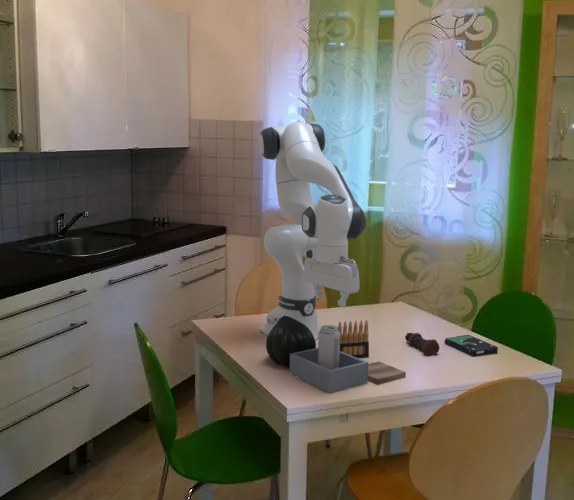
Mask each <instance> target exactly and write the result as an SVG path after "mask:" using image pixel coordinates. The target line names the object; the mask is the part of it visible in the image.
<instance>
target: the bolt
mask: <svg viewBox="0 0 574 500" xmlns="http://www.w3.org/2000/svg"><path fill="white" fill-rule="evenodd" d="M404 336H405V337H404V338H405V339H404V340H406V341H407V342H408V344H409V345H410V346H411V347H413V348H419V349H421V350H422V351H423V352H424V355H425V356H427V357H434V356H437V354H438V353H439V351H440V344H439V342H438V341H437V340H436V339H434V338H433V339H425V338H423V336H422V334H421V333H419V332H415V333H414V332H407V333H406V334H405V335H404ZM433 355H434V356H433Z"/></svg>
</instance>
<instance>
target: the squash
mask: <svg viewBox="0 0 574 500" xmlns="http://www.w3.org/2000/svg"><path fill="white" fill-rule="evenodd" d="M266 336H267V337H266V341H265V348H266V353H267V354H268V357H269V358H270V360H272V362H274V363H275V364H277V365H281V366H283V367H288V366H289V367H290V354H292V353H296V352H301V351H306V350H310V349H315V348H317V344H316V343H317V341H316V339H314V336H313V334H312V332H311V331H310V330H309V328H308V327H307V326H305V325H304V324H303V323H301V322H299V321H297V320H296V319H293V318H291V317H289V316H285V315H283V316H282V317H281V318H280V319H279V320H278V322H277V323H276V325H275V326H274V327H273V328H272V330H271V331H270V332H269V334H268V335H266Z"/></svg>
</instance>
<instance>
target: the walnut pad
mask: <svg viewBox="0 0 574 500" xmlns="http://www.w3.org/2000/svg"><path fill="white" fill-rule="evenodd" d="M406 375H407V372H406V371H404V370H401V369H399V368H397V367H394V366H392V365H389V364H386V363H384V362H382V361H376V362H372V363H368V381H369V382H370V383H373V384H376V385H377V386H378V385H381V384H384V383H389V382H393V381H396V380H400V379H403V378H404V379H405V378H406Z"/></svg>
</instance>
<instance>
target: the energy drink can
mask: <svg viewBox="0 0 574 500" xmlns="http://www.w3.org/2000/svg"><path fill="white" fill-rule="evenodd" d="M319 330H320V331H319V334H318V346H317V348H318V365H320V366H322V367H324V368H327V369H329V370H333V369H337V368H339V350H340V332H339V331H338V326H336V325H333V324H332V325H331V324H327V325H322V326H320V329H319Z"/></svg>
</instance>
